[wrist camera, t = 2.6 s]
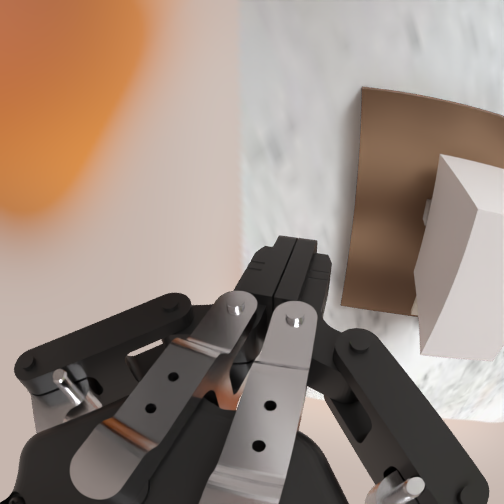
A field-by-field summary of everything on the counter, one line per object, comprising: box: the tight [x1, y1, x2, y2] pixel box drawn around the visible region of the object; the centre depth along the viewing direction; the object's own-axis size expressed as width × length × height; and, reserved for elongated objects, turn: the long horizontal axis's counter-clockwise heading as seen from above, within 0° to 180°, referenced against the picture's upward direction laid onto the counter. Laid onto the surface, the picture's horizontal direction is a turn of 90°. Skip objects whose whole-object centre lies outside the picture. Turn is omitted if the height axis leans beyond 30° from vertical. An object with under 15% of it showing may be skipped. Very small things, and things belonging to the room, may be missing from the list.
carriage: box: [414, 154, 504, 361], centre depth 12 cm, size 11×4×6 cm, turn 4°
